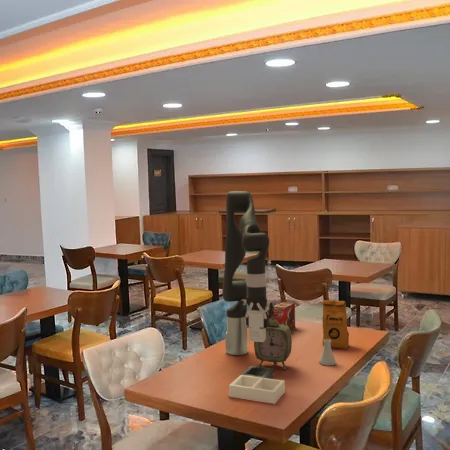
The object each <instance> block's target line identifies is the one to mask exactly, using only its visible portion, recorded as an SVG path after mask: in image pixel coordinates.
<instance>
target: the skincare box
mask: <svg viewBox="0 0 450 450" xmlns="http://www.w3.org/2000/svg"><path fill="white" fill-rule="evenodd" d="M265 339H266V328H264V313H263V314H261V312H260V311H258V310H251V311H250V310H249V327H248V341H249V342H254V341H255V342H264V341H265Z"/></svg>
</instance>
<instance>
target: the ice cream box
mask: <svg viewBox="0 0 450 450" xmlns="http://www.w3.org/2000/svg"><path fill="white" fill-rule="evenodd" d="M266 309H267V308H266ZM268 309H269V308H268ZM268 309H267V310H268ZM274 309H277V310H279V311H280V313H281V316H280V313H279V312H278V311H274V317H278V316H280V317H279V318H277V319H276V320H277V321H278V322H279V324H281V325H286V326H288V327H289V328H290V331H292V330H294V329H295V328H296V304H295V303H294V302H288V301H287V302H286V301H283V302H282V303H279V304H276V305H274ZM267 312H268V314H269V311H267ZM270 319H271V318H269V320H270ZM293 328H294V329H293Z"/></svg>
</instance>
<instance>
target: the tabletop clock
mask: <svg viewBox="0 0 450 450" xmlns="http://www.w3.org/2000/svg"><path fill="white" fill-rule="evenodd" d="M267 311H269V308H268V310H267ZM274 311H278V312H279V313H280V311H279V310H277V309H274ZM280 316H281V313H280ZM280 316H278V317H274V315H273V316H272V317H271V319H270V320H269V326H268V327H267V328H266V339H265V341H264V342H255V341H253V347H254V354H255V357H256V359H257V360H258V361H261V362H260V363H258V365H257V367H263V363H264V362H267V363H272V364H273V366H277V364H278V363H281V364H282V365H283V367H282V369H283V370H284V371H286V370H287V369H288V368H287V366H286V365H285V362H286V361H287V360H288V358H289V357H290V355H291V353H292V347H293V346H292V345H293V344H292V343H293V340H292V330H290V328H289V327H288V326H286V325H281V324H279V322H278V321H277V320H276V319H277V318H279V317H280Z"/></svg>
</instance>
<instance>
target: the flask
mask: <svg viewBox="0 0 450 450" xmlns="http://www.w3.org/2000/svg"><path fill="white" fill-rule="evenodd" d="M330 343H331V340H328V339H326V340H324V346H323V349H322V350H323V351H322V353H321V356H320V358H319V360H318V363H319V364H320V365H322V366H327V367H328V366H335V365H336V364H337V361H336V358H335V355H334V353H333V350H332V347H331V344H330Z"/></svg>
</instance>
